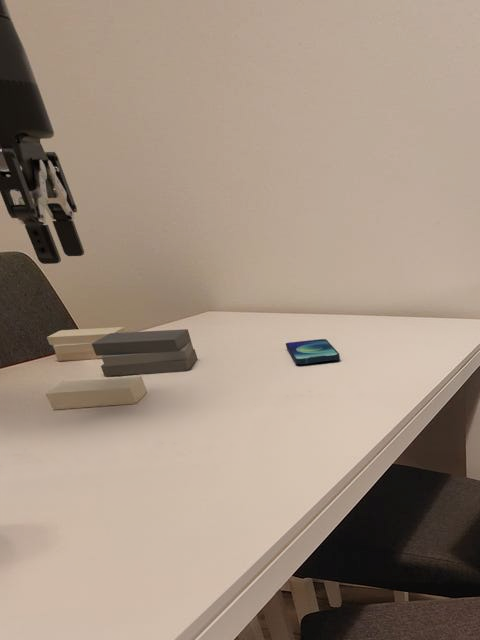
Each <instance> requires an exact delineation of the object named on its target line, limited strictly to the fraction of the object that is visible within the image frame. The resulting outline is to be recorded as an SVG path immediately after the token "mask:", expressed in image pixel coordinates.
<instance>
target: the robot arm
mask: <svg viewBox="0 0 480 640" xmlns="http://www.w3.org/2000/svg"><path fill="white" fill-rule="evenodd" d="M54 136H55V131H54V128H53V126H52V123H51V120H50V117H49V114H48V111H47V108H46V105H45V102H44V100H43V97H42V93H41V91H40V88H39V85H38V82H37V79H36V77H35V73H34V71H33V68H32V65H31V62H30V59H29V57H28V54H27V52H26V49H25V47H24V45H23V42H22V40H21V38H20V35H19V34H18V31H17V29H16V27H15V24H14V21H13V20H12V16H11V13H10V11H9V7H8V4H7V2H6V0H0V195H1V198H2V200H3V203H4V205H5V208H6V210H7V213H8V215H9V216H10V218H11V219H17V220H18V222H19V223H20V224H21V225H24V228H25V230H26V232H27V235H28V237H29V240H30V242H31V245H32V247H33V250H34V253H35V255H36V258H37V260H38V262H39V263H41V264H43V265H54V264H60V263H61V261H62V259H61V256H60V253H59V250H58V248H57V244H56V241H55V240H54V237H53V235H52V232H51V229H50V227H49V224H47V217H46V212H47V214H48V215H49V217H50V218H51V220H52V221H51V222H52V224H53V228H54V230H55V232H56V235H57V237H58V241H59V243H60V246H61V248H62V251H63V253H64V254H65V255H66V256H67V257H82V256H84V255H85V249H84V247H83V244H82V241H81V238H80V235H79V233H78V230H77V227H76V224H75V222H74V220H75V213H78V206H77V205H76V203H75V200H74V197H73V194H72V192H71V189H70V187H69V183H68V181H67V179H66V176H65V173H64V170H63V167H62V165H61V162H60V158H59V157H58V155H57V153H56V152H55V151H45V149H44V148H43V146H42V143H41V140H42V139H44V140H45V139H46V140H47V139H52V138H53V137H54Z"/></svg>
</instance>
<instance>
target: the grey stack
mask: <svg viewBox="0 0 480 640" xmlns="http://www.w3.org/2000/svg"><path fill="white" fill-rule="evenodd" d="M92 347H93V349H94V352H95V354H96V356H102V355H103V356H102V358H101V360H102V363H103V364H102V365H100V368H101V371H102V373H103V376H104V377H106V378H107V377H117V376H120V377H121V376H132V375H133V376H134V375H147V374H163V373H174V372H188V371H189V370H190V369H191V368H192V367H193V365H194V364H195V363H196V361H197V360H198V355H197V353H196V349H195V348H194V346H193V343H192V339H191V337H190V332H189V329H188V328H184V329H167V330H165V329H164V330H147V331H145V330H144V331H127V332H126V331H125V332H124V333H110V334H108V335H106V336H104V337H103V338H101V339H99V340H97V341H95V342H94V343H92Z"/></svg>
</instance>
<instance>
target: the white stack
mask: <svg viewBox="0 0 480 640" xmlns="http://www.w3.org/2000/svg"><path fill="white" fill-rule="evenodd" d="M124 332H126V331H125V327H124V326H118V327H117V326H116V327H99V328H97V327H96V328H79V329H61V330H58V331H56V332H54V333H52V334H50V335H48V336H46V340H47V342H48V344H49V345H50V346H52V348H53V350H54V351H55V353H54V355H55V357H56V359H57V362H69V361H84V360H97V359H102V356H103V355H102V356H96V354H95V352H94V349H93V347H92V343H94V342H95V341H97V340H99V339H101V338H103V337H104V336H106V335H108V334H110V333H124Z"/></svg>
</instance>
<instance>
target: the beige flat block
mask: <svg viewBox="0 0 480 640" xmlns="http://www.w3.org/2000/svg"><path fill="white" fill-rule="evenodd" d="M147 393H148V391H147V387H146V384H145V382H144V379H143V377H142V376H126V377H113V378H100V379H99V378H98V379H86V380H84V379H83V380H71V381H70V380H69V381H61V382H60V383H58V384H57V385H56V386H54V387H53V388H51V389H50V390H48V391H47V392H46V393H45V395H46V398H47V400H48V402H49V404H50V406H51V408H52V410H53V411H55V410H70V409H83V408H95V407H96V408H97V407H110V406H123V405H136V404H138V402H139V401H140V400H141V399H142V398H143V397H144V396H145V395H146V394H147Z"/></svg>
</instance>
